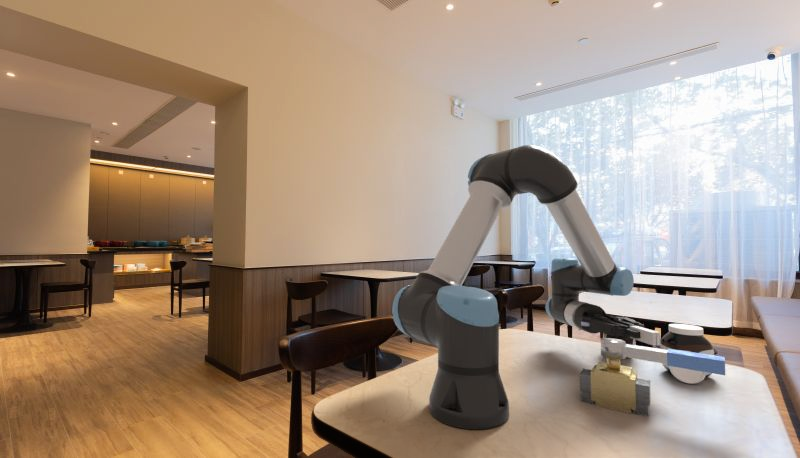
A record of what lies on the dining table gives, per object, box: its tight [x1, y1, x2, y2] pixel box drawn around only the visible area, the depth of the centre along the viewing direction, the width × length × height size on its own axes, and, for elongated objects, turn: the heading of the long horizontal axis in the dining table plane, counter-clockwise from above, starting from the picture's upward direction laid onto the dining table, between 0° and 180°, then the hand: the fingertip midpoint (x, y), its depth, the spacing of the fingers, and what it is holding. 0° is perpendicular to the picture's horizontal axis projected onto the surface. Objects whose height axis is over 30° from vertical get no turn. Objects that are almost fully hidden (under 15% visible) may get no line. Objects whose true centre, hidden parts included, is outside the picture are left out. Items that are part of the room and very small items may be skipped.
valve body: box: [579, 357, 652, 417], centre depth 75 cm, size 12×6×9 cm, turn 54°
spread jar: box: [659, 323, 715, 385], centre depth 89 cm, size 12×11×12 cm
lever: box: [600, 337, 726, 376], centre depth 70 cm, size 4×19×3 cm, turn 50°
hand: (656, 338), depth 79 cm, fingers closed
